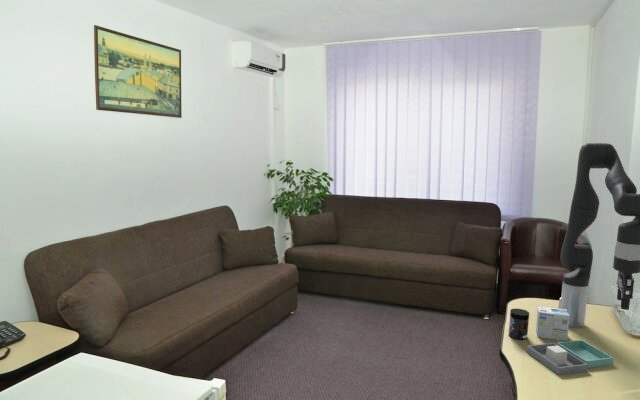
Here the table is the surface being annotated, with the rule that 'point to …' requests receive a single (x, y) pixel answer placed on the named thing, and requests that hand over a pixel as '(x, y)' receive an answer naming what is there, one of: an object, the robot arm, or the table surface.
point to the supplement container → (518, 324)
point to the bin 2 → (587, 353)
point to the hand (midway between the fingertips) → (622, 304)
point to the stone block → (556, 355)
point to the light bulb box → (552, 323)
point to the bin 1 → (569, 368)
